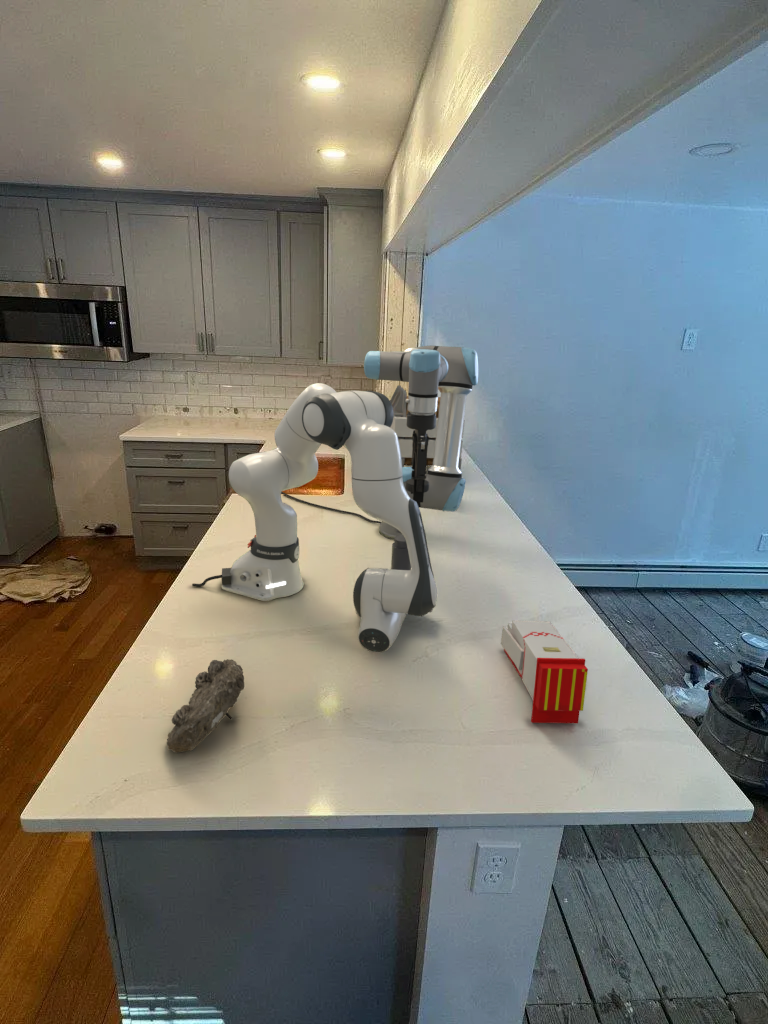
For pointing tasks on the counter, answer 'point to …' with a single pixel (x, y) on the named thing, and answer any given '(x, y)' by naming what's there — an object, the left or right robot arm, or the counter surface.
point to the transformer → (406, 433)
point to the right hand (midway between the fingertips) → (416, 497)
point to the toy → (547, 670)
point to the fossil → (206, 705)
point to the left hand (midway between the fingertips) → (400, 582)
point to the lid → (411, 485)
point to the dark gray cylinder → (400, 554)
